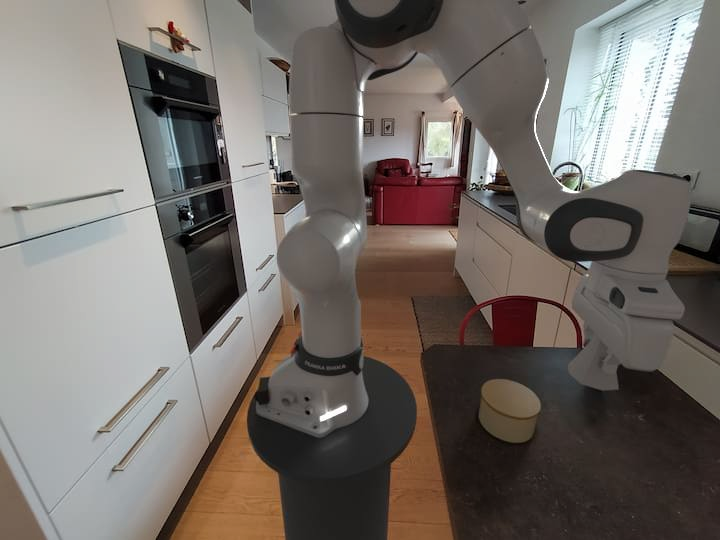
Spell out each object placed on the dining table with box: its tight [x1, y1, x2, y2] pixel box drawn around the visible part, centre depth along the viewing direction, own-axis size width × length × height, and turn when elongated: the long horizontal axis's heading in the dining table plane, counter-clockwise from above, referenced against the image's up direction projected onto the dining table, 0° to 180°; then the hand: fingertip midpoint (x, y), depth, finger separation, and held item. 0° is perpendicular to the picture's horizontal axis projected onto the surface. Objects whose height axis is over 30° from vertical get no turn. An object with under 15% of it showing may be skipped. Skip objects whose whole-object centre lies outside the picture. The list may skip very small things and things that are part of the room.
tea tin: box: [478, 378, 542, 444], centre depth 63 cm, size 10×10×6 cm
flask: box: [567, 334, 620, 392], centre depth 53 cm, size 7×7×10 cm
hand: (597, 359), depth 54 cm, fingers closed on flask, 5 cm apart
